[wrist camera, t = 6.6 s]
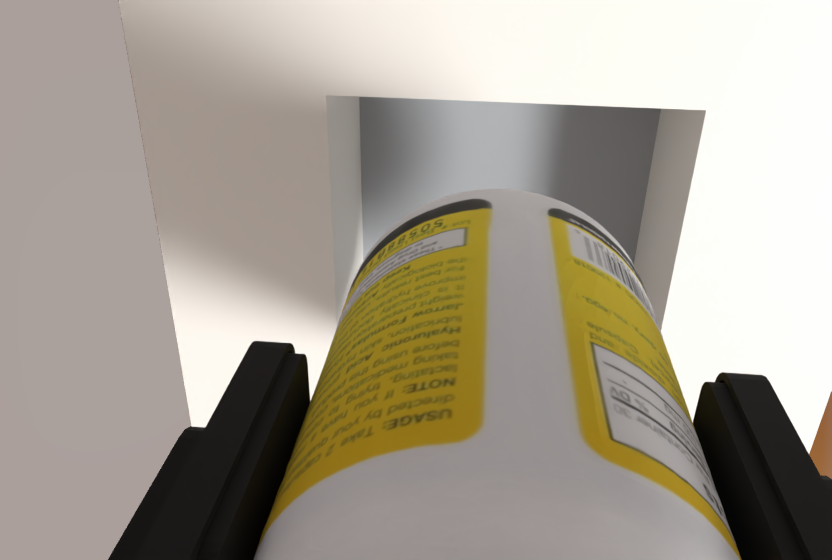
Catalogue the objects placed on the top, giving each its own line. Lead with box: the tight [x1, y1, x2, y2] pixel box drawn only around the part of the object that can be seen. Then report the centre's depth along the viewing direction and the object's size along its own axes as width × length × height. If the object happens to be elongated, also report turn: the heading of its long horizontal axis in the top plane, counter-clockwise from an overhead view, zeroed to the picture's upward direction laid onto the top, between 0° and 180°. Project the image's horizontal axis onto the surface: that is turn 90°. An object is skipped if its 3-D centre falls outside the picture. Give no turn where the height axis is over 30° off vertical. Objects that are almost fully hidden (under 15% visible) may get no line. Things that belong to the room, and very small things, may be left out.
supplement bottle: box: [253, 189, 741, 560], centre depth 9 cm, size 5×5×10 cm
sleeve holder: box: [118, 0, 832, 454], centre depth 17 cm, size 15×15×4 cm
